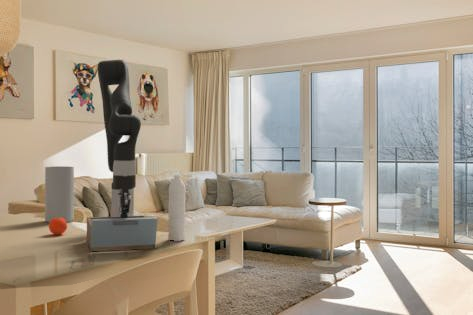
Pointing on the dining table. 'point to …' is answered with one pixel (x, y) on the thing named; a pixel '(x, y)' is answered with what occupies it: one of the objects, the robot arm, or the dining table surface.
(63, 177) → the cylinder vase
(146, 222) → the rectangular panel
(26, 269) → the dining table surface
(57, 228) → the clementine
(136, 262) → the dining table surface
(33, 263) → the dining table surface
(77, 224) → the dining table surface
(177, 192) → the water bottle
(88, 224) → the crate
